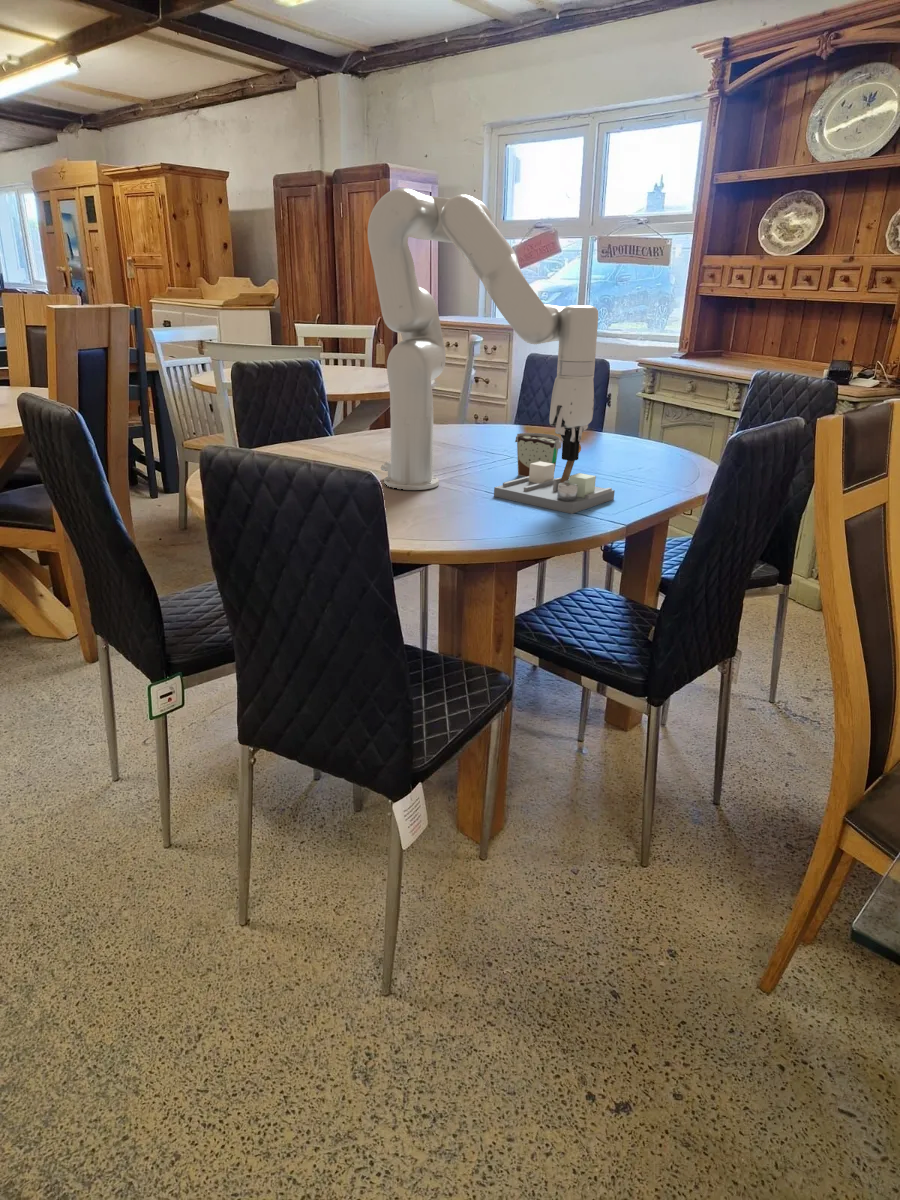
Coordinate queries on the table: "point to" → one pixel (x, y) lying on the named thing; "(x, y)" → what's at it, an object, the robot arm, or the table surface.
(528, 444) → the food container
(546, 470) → the block
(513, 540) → the table surface
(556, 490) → the panel
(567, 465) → the lever
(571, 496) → the button
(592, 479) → the slider green
